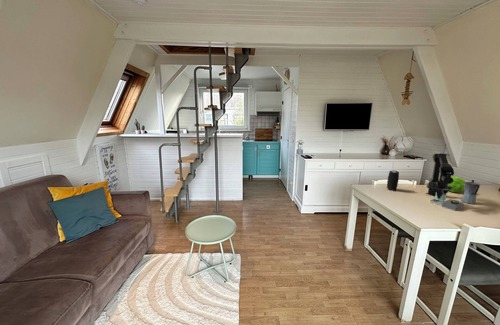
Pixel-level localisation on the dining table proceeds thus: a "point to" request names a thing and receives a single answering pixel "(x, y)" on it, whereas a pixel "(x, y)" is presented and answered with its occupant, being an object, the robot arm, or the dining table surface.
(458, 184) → the lettuce
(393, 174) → the portable speaker
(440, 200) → the mint block with knob
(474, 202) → the moka pot
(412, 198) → the dining table surface
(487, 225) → the dining table surface
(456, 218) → the dining table surface
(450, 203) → the square frame
